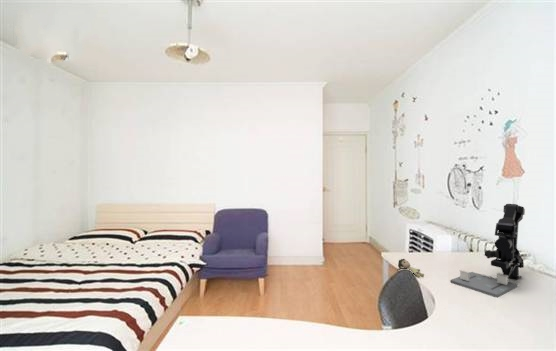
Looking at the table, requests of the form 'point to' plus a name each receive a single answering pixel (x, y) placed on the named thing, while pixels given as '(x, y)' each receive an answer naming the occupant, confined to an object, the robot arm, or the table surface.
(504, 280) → the fader
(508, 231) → the robot arm
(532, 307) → the table surface
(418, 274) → the figurine
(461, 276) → the fader
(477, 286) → the console
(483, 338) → the table surface
